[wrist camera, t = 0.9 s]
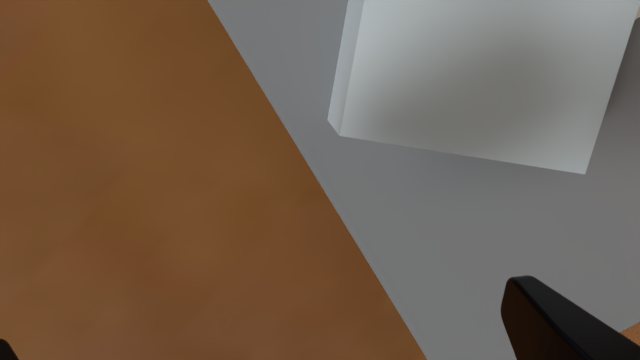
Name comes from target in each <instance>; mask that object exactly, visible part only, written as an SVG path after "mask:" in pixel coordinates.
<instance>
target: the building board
mask: <svg viewBox="0 0 640 360" xmlns="http://www.w3.org/2000/svg"><path fill="white" fill-rule="evenodd" d="M208 2H209V3H210V5H211V7H212V8H213V10H214V12H215V13H216V15H217V16H218V18H219V20H220V21H221V23H222V25H223V26H224V28H225V30H226V31H227V33H228V34H229V36H230V38H231V39H232V41H233V43H234V44H235V46H236V48H237V49H238V51H239V52H240V54H241V56H242V57H243V59H244V61H245V62H246V64H247V65H248V67H249V69H250V70H251V72H252V74H253V75H254V77H255V79H256V80H257V82H258V83H259V85H260V87H261V88H262V90H263V92H264V93H265V95H266V97H267V98H268V100H269V101H270V103H271V105H272V106H273V108H274V110H275V111H276V113H277V114H278V116H279V118H280V119H281V121H282V123H283V124H284V126H285V128H286V129H287V131H288V132H289V134H290V136H291V137H292V139H293V141H294V142H295V144H296V146H297V147H298V149H299V150H300V152H301V154H302V155H303V157H304V159H305V160H306V162H307V164H308V165H309V167H310V168H311V170H312V172H313V173H314V175H315V177H316V178H317V180H318V181H319V183H320V185H321V186H322V188H323V190H324V191H325V193H326V195H327V196H328V198H329V199H330V201H331V203H332V204H333V206H334V208H335V209H336V211H337V213H338V214H339V216H340V217H341V219H342V221H343V222H344V224H345V226H346V227H347V229H348V231H349V232H350V234H351V235H352V237H353V239H354V240H355V242H356V244H357V245H358V247H359V248H360V250H361V252H362V253H363V255H364V257H365V258H366V260H367V262H368V263H369V265H370V266H371V268H372V270H373V271H374V273H375V275H376V276H377V278H378V280H379V281H380V283H381V284H382V286H383V288H384V289H385V291H386V293H387V294H388V296H389V298H390V299H391V301H392V302H393V304H394V306H395V307H396V309H397V311H398V312H399V314H400V315H401V317H402V319H403V320H404V322H405V324H406V325H407V327H408V329H409V330H410V332H411V333H412V335H413V337H414V338H415V340H416V342H417V343H418V345H419V347H420V348H421V350H422V351H423V353H424V355H425V356H426V358H427V360H517V359H516V356H515V354H514V351H513V348H512V346H511V343H510V340H509V337H508V335H507V332H506V329H505V327H504V324H503V321H502V318H501V312H500V311H501V303H502V299H503V294H504V290H505V286H506V282H507V280H508V279H509V278H511V277H516V276H524V275H530V276H533V277H535V278H537V279H538V280H540V281H541V282H543V283H544V284H546V285H547V286H549V287H550V288H552V289H553V290H555V291H556V292H558V293H560V294H561V295H563V296H564V297H566V298H567V299H569V300H570V301H572V302H573V303H575V304H576V305H578V306H579V307H581V308H582V309H584V310H585V311H587V312H589V313H590V314H592V315H593V316H595V317H596V318H598V319H599V320H601V321H602V322H604V323H605V324H607V325H608V326H610V327H611V328H613V329H614V330H616V331H618V332H621V331H623V330H625V329H627V328H629V327H630V326H632V325H634V324H636V323H638V322H640V5H639V8H638V11H637V14H636V17H635V21H634V24H633V27H632V30H631V33H630V36H629V39H628V42H627V45H626V49H625V52H624V55H623V58H622V61H621V64H620V67H619V70H618V73H617V77H616V80H615V83H614V86H613V89H612V92H611V95H610V98H609V101H608V104H607V108H606V111H605V114H604V117H603V120H602V123H601V126H600V129H599V132H598V136H597V139H596V142H595V145H594V148H593V151H592V154H591V157H590V160H589V164H588V167H587V170H586V173H585V174H579V173H573V172H566V171H560V170H553V169H547V168H541V167H534V166H528V165H522V164H515V163H509V162H502V161H496V160H490V159H483V158H477V157H471V156H464V155H458V154H452V153H445V152H439V151H432V150H426V149H420V148H413V147H407V146H401V145H394V144H388V143H381V142H375V141H369V140H362V139H356V138H350V137H343V136H339V135H338V133H337V132H336V131H335V129H334V128H333V127H332V125H331V124H330V123H329V121H328V120H327V119H328V113H329V108H330V102H331V96H332V90H333V85H334V79H335V73H336V68H337V62H338V56H339V50H340V45H341V39H342V33H343V27H344V22H345V16H346V10H347V5H348V0H208Z"/></svg>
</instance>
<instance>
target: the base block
mask: <svg viewBox="0 0 640 360" xmlns="http://www.w3.org/2000/svg"><path fill="white" fill-rule="evenodd" d="M639 5H640V0H348V5H347V10H346V16H345V22H344V27H343V33H342V39H341V45H340V50H339V56H338V62H337V68H336V73H335V79H334V85H333V90H332V96H331V102H330V108H329V113H328V119H327V120H328V121H329V123H330V124H331V125H332V127H333V128H334V129H335V131H336V132H337V133H338V135H339V136H343V137H350V138H356V139H362V140H369V141H375V142H381V143H388V144H394V145H401V146H407V147H413V148H420V149H426V150H432V151H439V152H445V153H452V154H458V155H464V156H471V157H477V158H483V159H490V160H496V161H502V162H509V163H515V164H522V165H528V166H534V167H541V168H547V169H553V170H560V171H566V172H573V173H579V174H585V173H586V170H587V167H588V164H589V160H590V157H591V154H592V151H593V148H594V145H595V142H596V139H597V136H598V132H599V129H600V126H601V123H602V120H603V117H604V114H605V111H606V108H607V104H608V101H609V98H610V95H611V92H612V89H613V86H614V83H615V80H616V77H617V73H618V70H619V67H620V64H621V61H622V58H623V55H624V52H625V49H626V45H627V42H628V39H629V36H630V33H631V30H632V27H633V24H634V21H635V17H636V14H637V11H638V8H639Z"/></svg>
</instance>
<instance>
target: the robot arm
mask: <svg viewBox="0 0 640 360" xmlns="http://www.w3.org/2000/svg"><path fill="white" fill-rule="evenodd" d="M500 312H501V318H502V321H503V324H504V327H505V329H506V332H507V335H508V337H509V340H510V343H511V346H512V348H513V351H514V354H515V356H516V359H517V360H640V346H639V345H637V344H636V343H634V342H633V341H631V340H630V339H628V338H627V337H625V336H624V335H622V334H621V333H619V332H618V331H616V330H614V329H613V328H611V327H610V326H608V325H607V324H605V323H604V322H602V321H601V320H599V319H598V318H596V317H595V316H593V315H592V314H590V313H589V312H587V311H585V310H584V309H582V308H581V307H579V306H578V305H576V304H575V303H573V302H572V301H570V300H569V299H567V298H566V297H564V296H563V295H561V294H560V293H558V292H556V291H555V290H553V289H552V288H550V287H549V286H547V285H546V284H544V283H543V282H541V281H540V280H538V279H537V278H535V277H533V276H530V275H524V276H516V277H511V278H509V279H508V280H507V282H506V286H505V290H504V294H503V299H502V303H501V311H500ZM0 360H19V359H18V357H17V356H16V354H15V353H14V351H13V350H12V348H11V347H10V345H9V343H8V342H7V341H5V340H3V339H0Z"/></svg>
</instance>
